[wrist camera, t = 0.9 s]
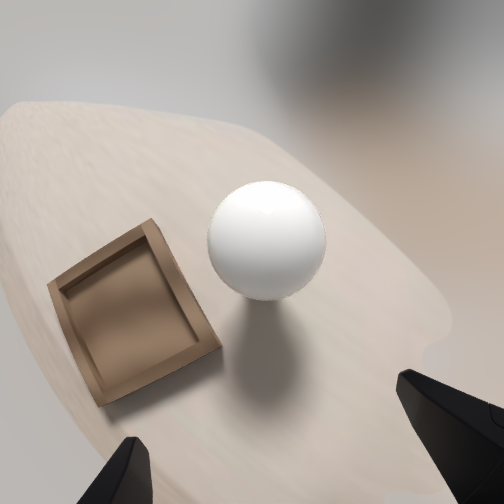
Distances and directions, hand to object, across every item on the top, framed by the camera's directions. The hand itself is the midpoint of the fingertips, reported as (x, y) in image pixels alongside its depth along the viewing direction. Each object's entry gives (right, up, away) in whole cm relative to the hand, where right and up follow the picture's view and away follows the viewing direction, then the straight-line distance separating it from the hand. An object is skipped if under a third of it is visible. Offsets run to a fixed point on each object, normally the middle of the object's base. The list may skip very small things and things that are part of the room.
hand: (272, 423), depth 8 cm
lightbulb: (0, +4, +16) cm, 16 cm away
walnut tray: (-10, 0, +14) cm, 18 cm away
